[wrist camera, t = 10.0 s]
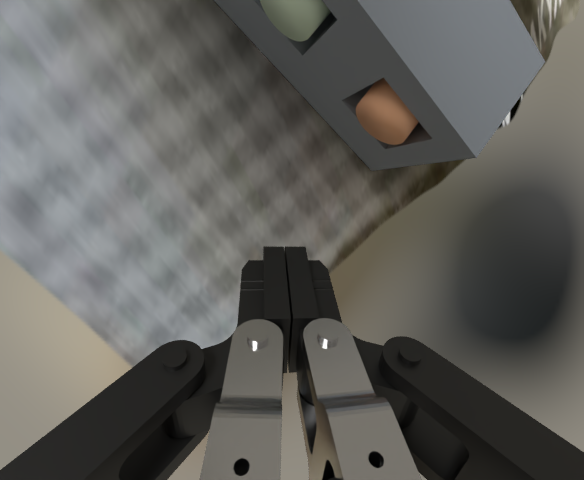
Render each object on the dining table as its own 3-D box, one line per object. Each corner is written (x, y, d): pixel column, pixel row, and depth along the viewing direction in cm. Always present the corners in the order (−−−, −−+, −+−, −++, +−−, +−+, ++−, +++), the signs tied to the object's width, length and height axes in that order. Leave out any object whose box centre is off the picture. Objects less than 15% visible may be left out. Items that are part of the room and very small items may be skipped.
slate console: (371, 170, 30) (476, 157, 20) (212, -1, 24) (247, -145, 14) (421, 105, 31) (545, 61, 21) (281, -76, 25) (360, -261, 15)
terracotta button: (381, 148, 25) (418, 139, 22) (346, 108, 24) (379, 92, 20) (411, 108, 26) (452, 94, 22) (378, 67, 24) (416, 44, 21)
